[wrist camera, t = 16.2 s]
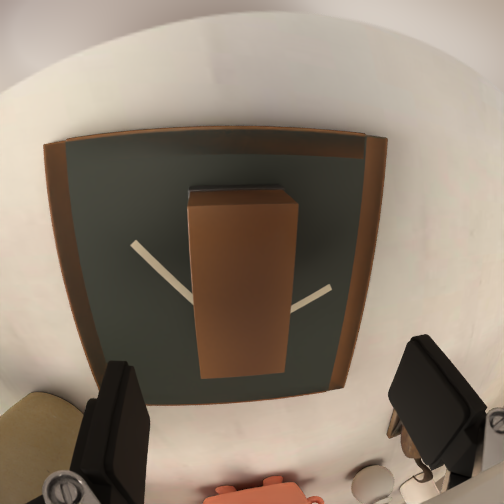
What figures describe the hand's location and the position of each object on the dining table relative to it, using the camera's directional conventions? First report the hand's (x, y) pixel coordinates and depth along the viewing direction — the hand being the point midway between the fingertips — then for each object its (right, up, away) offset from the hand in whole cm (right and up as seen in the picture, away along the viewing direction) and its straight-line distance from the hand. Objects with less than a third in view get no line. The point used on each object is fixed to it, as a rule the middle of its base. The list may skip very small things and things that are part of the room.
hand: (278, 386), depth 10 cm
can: (+30, -39, +33) cm, 59 cm away
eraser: (-2, +3, +9) cm, 10 cm away
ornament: (+15, -27, +26) cm, 40 cm away
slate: (-3, +2, +11) cm, 11 cm away
